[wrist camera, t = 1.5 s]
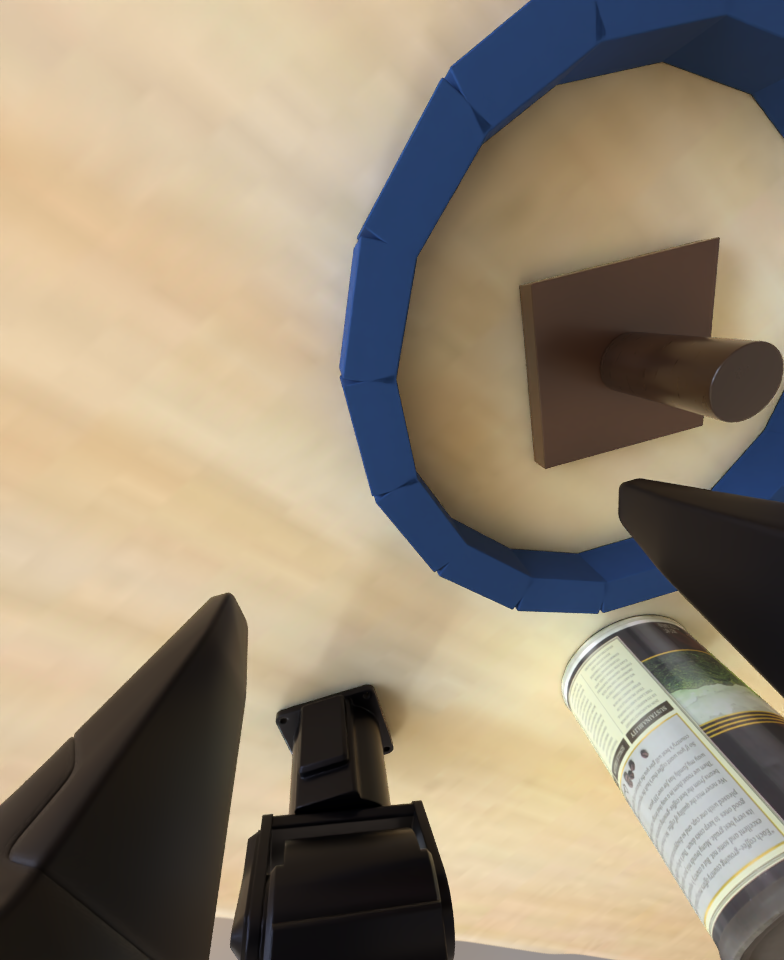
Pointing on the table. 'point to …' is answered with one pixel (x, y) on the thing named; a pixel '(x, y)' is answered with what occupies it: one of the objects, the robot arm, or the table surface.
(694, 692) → the coffee can
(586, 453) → the peg stand
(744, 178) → the table surface
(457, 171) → the ring
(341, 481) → the table surface
